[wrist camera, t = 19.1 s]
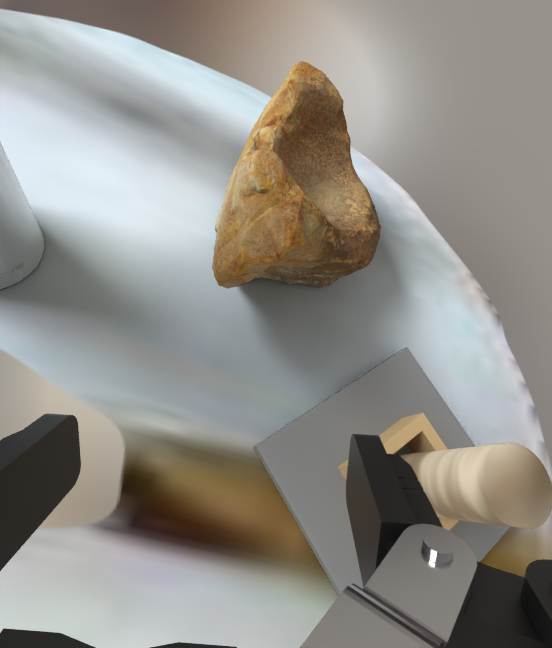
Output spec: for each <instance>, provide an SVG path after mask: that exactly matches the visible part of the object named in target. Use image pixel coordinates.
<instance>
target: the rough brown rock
mask: <svg viewBox="0 0 552 648" xmlns="http://www.w3.org/2000/svg"><path fill="white" fill-rule="evenodd" d="M380 228H381V227H380V224H379V220H378V217H377V213H376V210H375V207H374V204H373V202H372V200H371V197H370V194H369V192H368V190H367V188H366V187H365V185H364V184H363V183H362V182H361V180H360V179H359V177H358V175H357V174H356V172H355V170H354V167H353V165H352V159H351V154H350V137H349V135H348V132H347V125H346V120H345V116H344V112H343V100H342V98H341V96H340V94H339V92H338V90H337V89H336V88H335V86H334V85H333V84H332V83H331V81H330V80H329V79H328V78H327V77H326V75H325V74H324V73H323V72H322V71H320V70H319V69H317V68H315V67H314V66H312V65H310V64H308V63H306V62H299V63H298V64H296V65H295V66H294V67H293V68H292V69H291V71H290V73H289V74H288V76H287V78H286V79H285V81H284V83H283V84H282V85H281V86H280V88H279V89H278V90H277V91H276V93H275V94H274V96H273V97H272V99H271V100H270V101H269V103H268V104H267V105H266V107H265V108H264V110H263V112H262V114H261V116H260V118H259V119H258V121H257V123H256V124H255V126H254V128H253V130H252V132H251V134H250V136H249V138H248V140H247V143H246V145H245V147H244V149H243V151H242V153H241V156H240V158H239V160H238V162H237V165H236V166H235V168H234V171H233V173H232V175H231V177H230V180H229V182H228V185H227V188H226V192H225V197H224V201H223V204H222V207H221V210H220V212H219V215H218V217H217V221H216V226H215V231H216V232H217V236H216V242H215V246H214V257H213V265H212V269H213V271H214V275H215V279H216V280H217V282H218V284H219V286H222V287H225V288H231V287H235V286H238V285H241V284H245V283H247V282H249V281H252V280H253V279H254V278H260V277H262V278H266V279H273V280H277V281H283V282H285V283H287V284H296V283H300V284H303V285H308V286H314V287H323V286H327V285H330V284H332V283H333V282H334V281H335V280H337V279H338V278H339V277H341V276H343V275H349V274H351V273H353V272H355V271H357V270H359V269H362V268H364V267H365V266H367V265H368V264H369V263H370V262H371V260H372V258H373V256H374V253H375V251H376V247H377V244H378V241H379V238H380Z"/></svg>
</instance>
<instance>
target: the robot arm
mask: <svg viewBox="0 0 552 648" xmlns="http://www.w3.org/2000/svg"><path fill="white" fill-rule="evenodd" d="M43 252H44V238H43V234H42V232H41V229H40V227H39V225H38V223H37V221H36V219H35V216H34V214H33V212H32V210H31V207H30V205H29V203H28V201H27V199H26V196H25V194H24V192H23V190H22V188H21V186H20V183H19V181H18V179H17V177H16V175H15V173H14V170H13V168H12V166H11V164H10V162H9V160H8V157H7V155H6V153H5V151H4V149H3V147H2V144H1V142H0V289H2V288H5V287H9V286H11V285H13V284H15V283H18V282H19V281H21V280H22V279H24V278H25V277H27V276H28V275H29V274H30V273H31V272H32V271H33V270H34V269H35V268H36V267H37V265H38V264H39V262H40V261H41V258H42V255H43ZM80 467H81V460H80V446H79V432H78V422H77V419H76V417H75V416H73V415H61V414H60V415H59V414H44V415H43V416H41V417H40V418H39V419H37V420H36V421H35V422H33V423H32V424H30V425H29V426H28V427H26V428H25V429H24V430H21V431H19V432H17V433H14V434H12V435H10V436H7V437H5V438H3V439H2V440H1V441H0V571H1V570H2V568H3V567H4V566H5V565H6V564H7V563H8V561H9V560H10V559H11V558H12V557H13V556H14V555H15V553H16V552H17V551H18V550H19V549H20V548H21V546H22V545H23V544H24V543H25V542H26V541H27V540H28V538H29V537H30V536H31V535H32V534H33V533H34V531H35V530H36V529H37V528H38V527H39V526H40V525H41V523H42V522H43V521H44V520H45V519H46V518H47V516H48V515H49V514H50V513H51V512H52V511H53V509H54V508H55V507H56V506H57V505H58V504H59V503H60V502H61V500H62V499H63V498H64V497H65V496H66V494H67V493H68V492H69V491H70V490H71V489H72V488H73V486H74V485H75V483H76V481H77V479H78V476H79V473H80ZM346 503H347V509H348V514H349V519H350V524H351V529H352V534H353V538H354V543H355V548H356V553H357V558H358V563H359V568H360V573H361V578H362V583H363V587H364V588H363V589H362V588H360V587H359V586H357V585H356V584H350V585H348V586H347V587H346V588H345V589H344V591H343V592H342V593H341V594H340V596H339V597H338V598H337V600H336V601H335V602H334V604H333V605H332V606H331V608H330V609H329V610H328V612H327V613H326V614H325V615H324V617H323V618H322V619H321V621H320V622H319V623H318V625H317V626H316V627H315V629H314V630H313V631H312V633H311V634H310V635H309V637H308V638H307V639H306V641H305V642H304V643H303V644H302V646H301V647H300V648H552V560H536V561H533V562H532V563H530V564H529V565H528V567H527V570H526V574H525V578H524V577H521V576H518V575H515V574H511V573H508V572H505V571H502V570H499V569H495V568H492V567H490V566H487V565H484V564H482V563H480V562H478V561H477V560H476V556H475V554H474V552H473V550H472V549H471V548H470V546H469V545H468V544H467V543H466V542H465V541H464V540H463V539H461V538H460V537H459V536H457V535H456V534H454V533H452V532H451V531H449V530H447V529H444V528H443V526H442V524H441V522H440V520H439V518H438V516H437V514H436V513H435V511H434V509H433V507H432V505H431V503H430V501H429V499H428V497H427V495H426V493H425V492H424V491H423V487H422V486H421V484H420V482H419V481H418V478H417V476H416V474H415V472H414V470H413V468H412V466H411V465H410V464H409V463H407V462H406V461H405V460H404V459H403V458H402V457H400V456H399V455H398V454H387V453H386V450H385V448H384V446H383V443H382V441H381V439H380V437H379V436H378V435H365V434H352V436H351V440H350V449H349V459H348V469H347V479H346ZM0 648H95V647H93V646H90V645H88V644H85V643H83V642H81V641H78V640H76V639H73V638H71V637H69V636H66V635H64V634H61V633H53V632H41V631H28V630H15V629H3V630H2V632H1V633H0ZM151 648H237V647H230V646H218V645H205V644H192V643H180V642H178V643H173V644H167V645H162V646H156V647H151Z"/></svg>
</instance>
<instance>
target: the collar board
mask: <svg viewBox="0 0 552 648" xmlns="http://www.w3.org/2000/svg"><path fill="white" fill-rule="evenodd" d="M352 434H365V435H378V436H379V437H380V439H381V441H382V443H383V446H384V448H385V450H386V453H387V454H398V455H402V454H411V453H421V452H430V451H439V450H448V449H457V448H466V447H475V445H474V444H473V443H472V441H471V440H470V438H469V437H468V435H467V434H466V432H465V431H464V429H463V428H462V427H461V425H460V424H459V422H458V421H457V419H456V418H455V416H454V415H453V413H452V412H451V411H450V409H449V408H448V406H447V405H446V403H445V402H444V400H443V399H442V397H441V396H440V395H439V393H438V392H437V390H436V389H435V387H434V386H433V384H432V383H431V381H430V380H429V379H428V377H427V376H426V374H425V373H424V371H423V370H422V368H421V367H420V365H419V364H418V363H417V361H416V360H415V358H414V357H413V355H412V354H411V352H410V351H409V349H408V348H407V347H406V348H404V349H402V350H401V351H399V352H398V353H396V354H395V355H393V356H391V357H390V358H388V359H387V360H385V361H384V362H382V363H381V364H379V365H378V366H376V367H375V368H373V369H372V370H370V371H369V372H367V373H366V374H364V375H363V376H361V377H360V378H358V379H357V380H355V381H354V382H352V383H350V384H349V385H347V386H346V387H344V388H343V389H341V390H340V391H338V392H337V393H335V394H334V395H332V396H331V397H329V398H328V399H326V400H325V401H323V402H322V403H320V404H319V405H317V406H316V407H314V408H312V409H311V410H309V411H308V412H306V413H305V414H303V415H302V416H300V417H299V418H297V419H296V420H294V421H293V422H291V423H290V424H288V425H287V426H285V427H284V428H282V429H281V430H279V431H278V432H276V433H275V434H273V435H271V436H270V437H268V438H267V439H265V440H264V441H262V442H261V443H259V444H258V445H256V446H255V447H253V448H254V449H255V451H256V453H257V455H258V456H259V458H260V460H261V462H262V463H263V465H264V467H265V469H266V470H267V472H268V474H269V476H270V477H271V479H272V481H273V483H274V484H275V486H276V488H277V490H278V491H279V493H280V495H281V497H282V498H283V500H284V502H285V503H286V505H287V507H288V509H289V510H290V512H291V514H292V516H293V517H294V519H295V521H296V523H297V524H298V526H299V528H300V530H301V531H302V533H303V535H304V537H305V538H306V540H307V542H308V544H309V545H310V547H311V549H312V551H313V552H314V554H315V556H316V558H317V559H318V561H319V563H320V565H321V566H322V568H323V570H324V572H325V573H326V575H327V577H328V578H329V580H330V582H331V584H332V585H333V587H334V589H335V591H336V592H337V594H338V596H340V594H341V593H342V592H343V591H344V589H345V588H346V587H347V586H348V585H350V584H356V585H357V586H359V587H360V588H362V589H363V588H364V587H363V583H362V578H361V573H360V568H359V563H358V558H357V553H356V548H355V543H354V538H353V534H352V529H351V524H350V519H349V514H348V509H347V503H346V479H347V469H348V459H349V449H350V440H351V436H352ZM438 518H439V517H438ZM439 520H440V522H441V524H442V526H443V528H444V529H447V530H449V531H451V532H452V533H454V534H456V535H457V536H459V537H460V538H461V539H463V540H464V541H465V542H466V543H467V544H468V545H469V546H470V548H471V549H472V550H473V552H474V554H475V556H476V560H477V561H478V562H480V561H481V560H482V559H483V558H484V557H485V556H486V554H487V553H488V552H489V551H490V550H491V549H492V548H493V546H494V545H495V544H496V543H497V542H498V541H499V540H500V539H501V537H502V536H503V535H504V534H505V533H506V532H507V531H508V529H509V528H510V527H509V526H501V525H493V524H485V523H478V522H470V521H462V520H454V519H446V518H439Z"/></svg>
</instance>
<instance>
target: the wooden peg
mask: <svg viewBox="0 0 552 648" xmlns="http://www.w3.org/2000/svg"><path fill="white" fill-rule="evenodd" d="M399 456H400V457H402V458H403V459H404V460H405V461H406V462H407V463H409V464H410V465H411V466H412V468H413V470H414V472H415V474H416V476H417V478H418V481H419V482H420V484H421V486H422V487H423V491H424V492H425V493H426V495H427V497H428V499H429V501H430V503H431V505H432V507H433V509H434V511H435V513H436V514H437V516H438V517H439V518H446V519H454V520H462V521H470V522H478V523H485V524H493V525H501V526H509V527H517V528H524V529H533V528H536V527H539V526H540V525H542V524H543V523H544V522H545V521H546V520H547V518H548V517H549V515H550V512H551V509H552V486H551V482H550V479H549V476H548V473H547V471H546V469H545V467H544V466H543V464H542V463H541V461H540V460H539V459H538V457H537V456H536V455H535V454H534V453H533V452H531V451H530V450H529V449H527V448H526V447H524V446H522V445H520V444H516V443H503V444H493V445H484V446H475V447H466V448H457V449H448V450H439V451H430V452H421V453H411V454H402V455H399Z"/></svg>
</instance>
